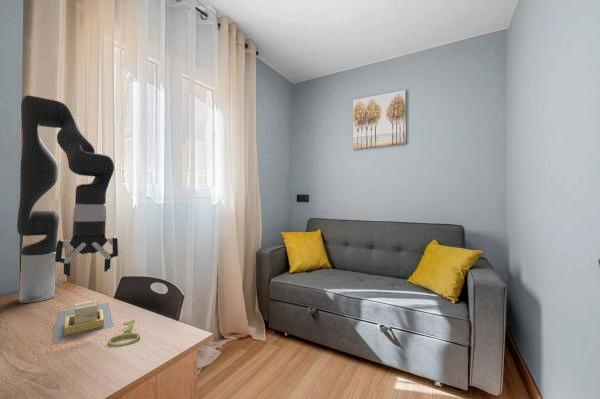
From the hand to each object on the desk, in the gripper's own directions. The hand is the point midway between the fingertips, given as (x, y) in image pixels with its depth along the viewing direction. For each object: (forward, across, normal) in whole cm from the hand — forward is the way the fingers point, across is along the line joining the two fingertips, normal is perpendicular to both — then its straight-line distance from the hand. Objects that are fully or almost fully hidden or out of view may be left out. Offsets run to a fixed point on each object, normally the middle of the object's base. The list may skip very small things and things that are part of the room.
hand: (87, 273), depth 75 cm
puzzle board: (+16, 0, -5) cm, 17 cm away
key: (+17, -9, +12) cm, 23 cm away
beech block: (+15, 0, 0) cm, 15 cm away
